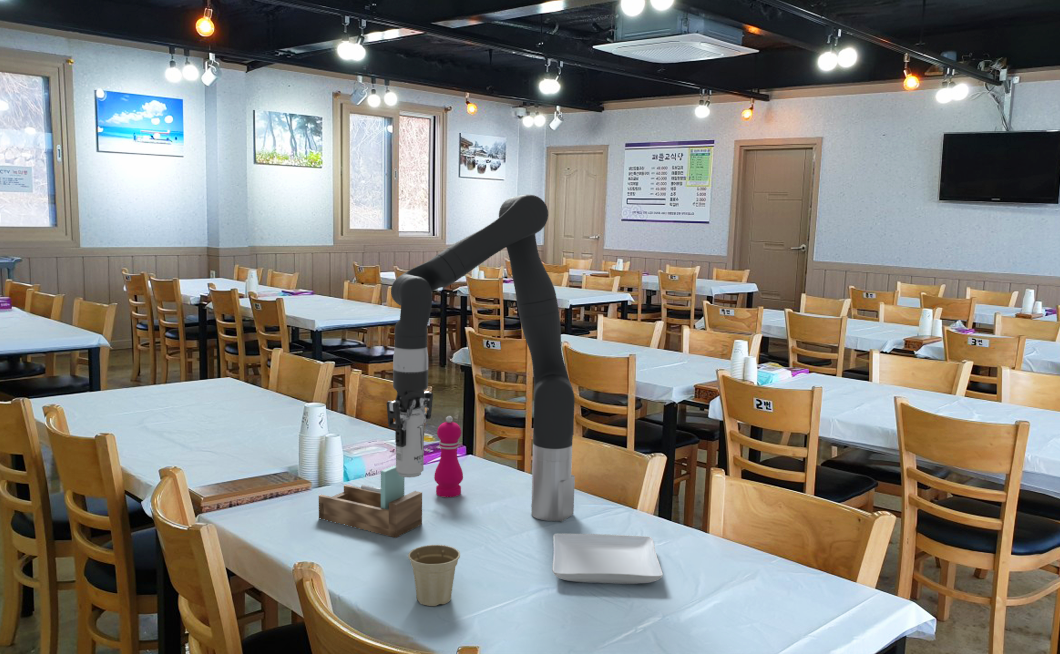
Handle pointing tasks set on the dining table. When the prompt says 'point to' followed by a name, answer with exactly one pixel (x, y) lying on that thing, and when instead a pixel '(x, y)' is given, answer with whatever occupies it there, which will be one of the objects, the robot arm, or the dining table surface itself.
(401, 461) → the energy drink can
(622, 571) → the salad plate
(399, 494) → the pusher
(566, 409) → the robot arm
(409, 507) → the wooden box
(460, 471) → the pepper mill
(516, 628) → the dining table surface
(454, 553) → the flower pot
